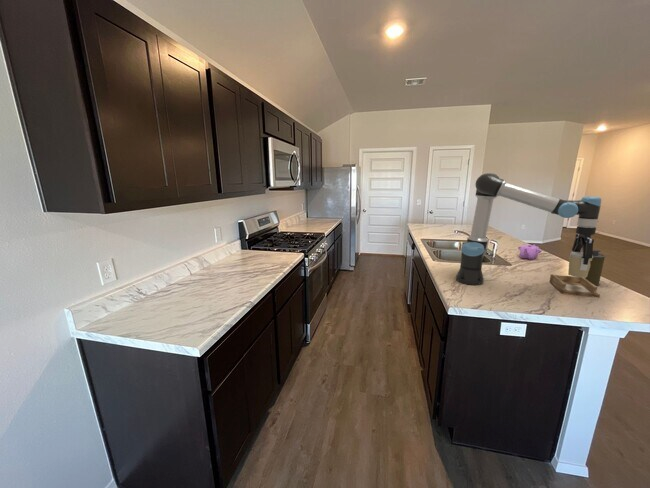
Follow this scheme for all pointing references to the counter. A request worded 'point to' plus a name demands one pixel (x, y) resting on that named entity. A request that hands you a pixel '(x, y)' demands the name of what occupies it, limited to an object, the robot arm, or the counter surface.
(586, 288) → the dock
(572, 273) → the coffee cup
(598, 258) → the canister
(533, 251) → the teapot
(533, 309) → the counter surface
